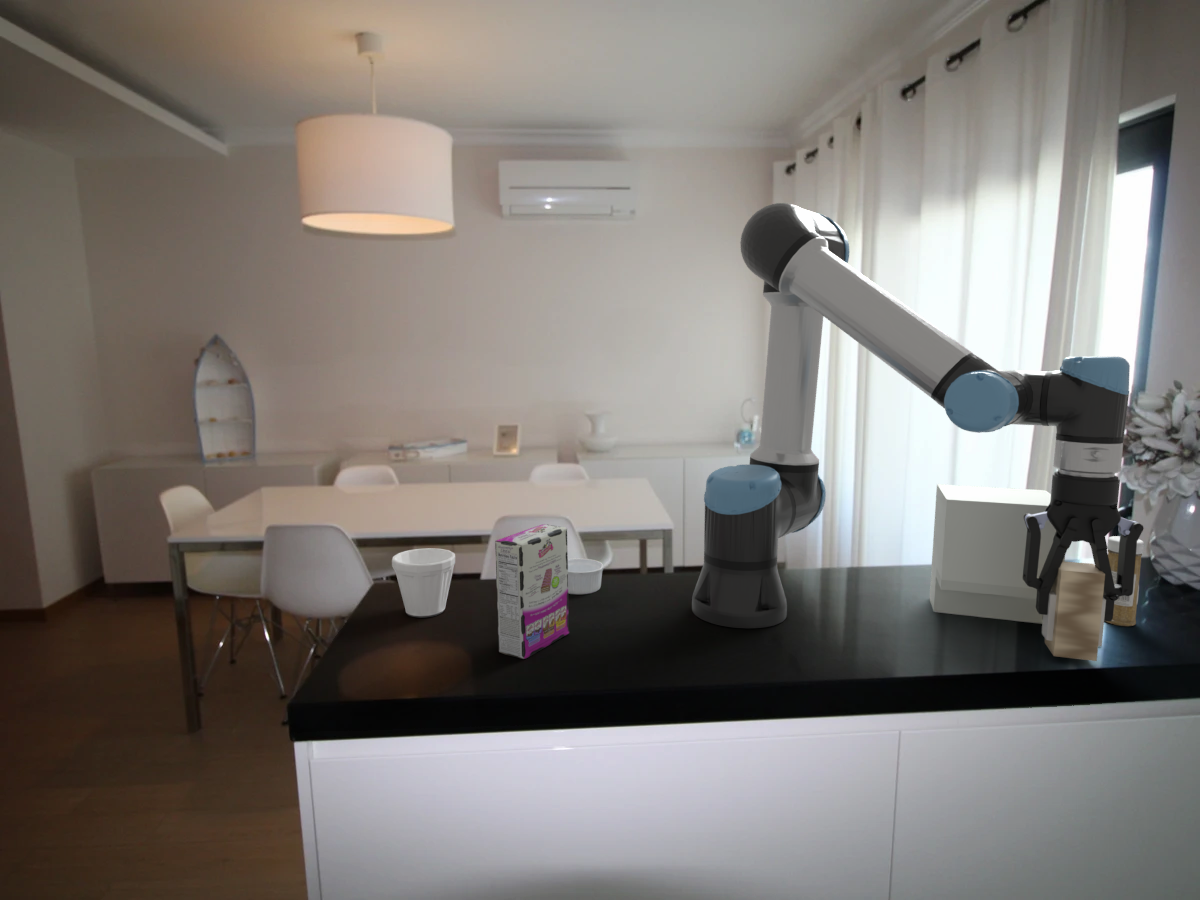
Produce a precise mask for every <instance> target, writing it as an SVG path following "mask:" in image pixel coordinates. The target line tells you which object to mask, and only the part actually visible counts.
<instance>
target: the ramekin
mask: <svg viewBox="0 0 1200 900" xmlns="http://www.w3.org/2000/svg"><path fill="white" fill-rule="evenodd" d="M604 567H605V566H604V564H603V563H602V562H601V561H598V560H595V559H591V558H580V557H579V558H578V557H576V558H568V595H569V594H570V595H589V594H593V593H596V592H597V591H599V590H600V589H601V586H602V576H603V571H604Z"/></svg>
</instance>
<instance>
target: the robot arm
mask: <svg viewBox="0 0 1200 900" xmlns="http://www.w3.org/2000/svg"><path fill="white" fill-rule="evenodd" d="M742 229H743V230H742V233H741V237H740V242H739V243H740V254H741V257H742V260H743V262H744V263H745V265H746V267H747V268H748V269H749V270H750V272H751V273H753V274H754V275H755V276H756V277H758V278H760V279H761V280H763V290H762V291H763V292H762V296H763V297H764V298H765V299H766V301H767V302H768V303H769V304H770V306H771V307H770V317H769V332H768V340H767V341H768V343H767V355H766V367H765V379H764V380H765V381H764V390H763V391H764V393H763V405H762V407H763V408H762V415H761V416H762V418H761V429H760V430H761V432H760V440H759V441H760V442H759V445H758V447H757V448H756V449H754V451H752V452H751V453H750V455H749V464H736V466H734V465H728V466H725V467H720V468H719V469H718V468H717V469H715V470H714V471H712V472H711V473H710V474H709V475H708V477H707V479H706V482H705V483H706V484H705V490H704V495H703V501H704V527H703V528H704V536H703V537H704V539H703V541H704V542H703V543H704V545H703V564H702V565H703V566H702V567H701V570H700V574H699V576H698V578H697V579H698V580H697V582H696V584H695V587H694V590H693V593H692V597H691V599H692V600H691V611H692V613H693V614H694V616H695V617H697V618H698V619H701V620H703V621H705V622H706V623H707V622H708V623H711V624H714V625H716V626H717V625H718V626H721V627H727V628H736V629H763V628H768V627H773V626H776V625H778V624H782V622H784V621H785V620H786V618H787V615H788V603H787V601H788V600H787V598H786V594H785V591H784V588H783V585H782V584H783V583H782V581H781V578H780V574H779V570H778V549H779V538H783V537H785V536H787V535H789V534H793V533H798V532H799V531H802V530H804V529H805V528H807V527H808V526H810V525H811V524H812V523H813V522H814V521H816V519H817V518H818V517H820V515H821V513H822V511H823V510H824V506H825V502H826V497H827V496H826V495H827V494H826V493H827V491H826V486H825V483H824V481H823V479H822V478H821V477H820V475H819V465H820V459H819V458H818V457H817V456H816V454H815V453H814V452H813V451H812V443H813V433H814V432H813V431H814V419H815V413H816V411H815V410H816V399H817V391H818V390H817V388H818V379H819V368H820V366H819V365H820V356H821V346H822V335H823V322H824V318H825V319H826V320H828V321H830V322H831V323H832V324H833V325H835V326H836V327H837V328H838V329H840V330H841V331H843V333H845V334H847V335H848V336H849V337H850V338H852V339H853V340H855V341H856V342H857V343H858V344H859V345H861V346H862V347H864V348H865V349H866V350H868V351H869V352H871V353H872V354H873V355H874V356H875V357H877V358H878V359H880V360H881V361H882V362H883V363H885V364H886V365H887V366H888V367H890V368H891V369H893V370H894V371H895V372H896V373H898V374H899V375H901V376H902V377H903V378H904V379H905V380H907V381H909V383H911V384H912V385H914V386H915V387H916V388H918V389H919V390H921V391H922V392H923V393H924V394H926V395H927V396H928V397H930V398H931V399H932V400H933V401H934V402H936V403H937V405H939V406H940V407H942V408H943V409H945V410H944V411H945V413H946V416H947V418H949V420H950V421H951V423H953V425H954V426H956V427H957V428H960V429H961V430H964V431H967V432H971V433H991V432H992V433H993V432H995V431H998V430H1001V429H1002V428H1004V427H1007V426H1010V425H1022V426H1042V427H1056V433H1055V444H1054V445H1055V446H1054V457H1053V465H1052V466H1053V468H1055V469H1056V470H1057V471H1055V472H1054V473H1052V478H1051V479H1052V481H1051V491H1050V494H1051V500H1050V504H1049V506H1048V507H1047V508H1046V510H1045V512H1041V513H1037V514H1030V513H1026V514H1025V515H1024V521H1025V524H1026V527H1027V537H1026V548H1025V558H1024V568H1023V580H1024V582H1025V583H1026V584H1027V586H1029V587H1033V588H1035V589H1037V597H1036V609H1037V612H1038V613H1039V614H1043V624H1042V626H1041V635H1042V636H1043V637H1044V640H1045V639H1046V640H1049V641H1053V630H1054V619H1055V608H1056V596H1057V595H1056V594H1055V593H1054V591H1053V590H1052V589H1051V588H1052V586H1053V583H1054V581H1055V578H1056V576H1057V573H1058V570H1059V568H1060V566H1061V564H1062V561H1063V559H1064V556H1065V557H1066V554H1067V551H1068V550H1069V548H1070V547H1071V545H1072V543H1073V542H1075V543H1076V542H1085V543H1088V544H1089V546H1090V549H1091V553H1092V558H1093V564H1094V565H1095V567H1096V568H1098V569H1099V570H1100V571H1102V572H1103V573H1104V574H1105V581H1104V591H1103V601H1102V612H1101V622H1100V632H1099V642H1098V647H1103V637H1104V635H1103V634H1104V625H1105V622H1106V621H1110V622H1111V620H1112V619H1113V611H1114V601H1116V600H1117V599H1118V597H1119V596H1124V595H1125V596H1130V595H1132V593H1133V584H1134V572H1135V560H1136V548H1137V540H1138V539H1139V540H1140V537H1141V535H1142V533H1143V532H1144V529H1145V527H1144V525H1143V524H1141V523H1140V522H1138V521H1136V520H1134V519H1127V518H1124V517H1123V516H1121V513H1120V512H1119V508H1118V505H1119V495H1120V485H1121V479H1120V478H1119V476H1117V475H1116V474H1118V473H1120V472H1121V471H1122V461H1123V448H1124V440H1125V439H1124V438H1125V431H1126V422H1127V412H1128V405H1129V399H1130V398H1129V396H1130V369H1131V368H1130V367H1131V366H1130V363H1129V362H1128V360H1127V359H1126V358H1124V357H1121V356H1066V357H1065V358H1063V360H1062V361H1061V366H1059V369H1058V370H1055V369H1054V370H1047V371H1046V370H1045V371H1044V370H1043V371H1041V370H1040V371H1039V370H1019V369H1017V370H1015V369H1013V370H1012V369H1008V370H1007V369H996V368H995V367H994V366H992V365H991V364H989V363H988V362H987V361H985V360H984V359H982V358H981V357H979V356H977V355H975V354H974V353H973V352H972V351H970V350H969V349H968V348H967V347H966V346H963V345H962V344H961V343H960V342H958V341H956V340H955V339H954V338H952V337H951V336H950V335H948V334H947V333H945V332H944V331H943V330H941V329H940V328H938V327H937V326H936V325H934V324H932V323H931V322H930V321H929V320H927V319H926V318H924V316H921V315H920V314H919V313H917V312H916V311H915V310H913V309H911V307H909V306H907V305H906V304H904V303H903V302H902V301H900V300H899V299H897V298H896V297H895V296H893V295H892V294H890V293H889V292H888V291H886V290H884V288H882V287H880V286H879V285H878V284H876V283H875V282H873V281H872V280H870V279H869V278H868V277H867V276H865V275H863V274H862V273H861V272H860V271H858V270H857V269H855V268H854V267H852V266H851V265H850V264H849V263H848V262H849V259H850V243H849V240H848V237H847V235H846V233H845V231H844V229H842V227H841V226H840V225H839V224H838V223H837V222H835V221H834V220H833V219H832V218H830V217H829V216H827V215H826V214H822V213H820V212H814V211H811V210H807V209H805V208H802V207H800V206H798V205H795V204H791V203H786V202H778V203H777V202H776V203H772V204H769V205H766V206H764V207H762V208H760V209H759V210H757V211H756V212H755V213H754V214H753V215H752V216H751V217H750V218H749V219H748V221H747V222H746V224H745V225H744V227H743V228H742ZM1047 520H1049V521H1050V523H1051V524H1052V525H1053V527H1054V528H1055V529H1056V533H1055V535H1054V538H1053V544H1052V546H1051V549H1050V551H1049V554H1048V556H1047V558H1046V561H1045V563H1044V566H1043V568H1042V571H1041V573H1040V576H1039V578H1037V571H1038V561H1039V551H1040V541H1041V531H1040V530H1041V529H1043V528H1044V527H1045V522H1046V521H1047ZM1117 526H1118V530H1117V531H1118V533H1119V534H1120V535H1119V536H1120V542H1119V555H1118V567H1117V580H1116V584H1115V585H1114V581H1113V577H1112V572H1111V567H1110V562H1109V558H1108V548H1107V544H1108V543H1107V540H1106V536H1107V535H1109V533H1111V531H1112V530H1114V528H1115V527H1117Z"/></svg>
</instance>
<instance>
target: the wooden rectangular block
mask: <svg viewBox="0 0 1200 900" xmlns="http://www.w3.org/2000/svg"><path fill="white" fill-rule="evenodd" d="M1104 581H1105V574H1104V573H1103V572H1102V571H1100V570H1099V569H1098V568H1096V567H1095V564H1094V563H1088V562H1087V563H1086V562H1075V561H1074V562H1073V561H1066V560H1065V561H1062V564H1061V566H1060V568H1059V570H1058V573H1057V576H1056V578H1055V581H1054V583H1053V586H1052V588H1051V589H1052V590H1053V591H1054V593H1055V594H1056V595H1057V596H1056V608H1055V619H1054V630H1053V641H1049V640H1046V639H1045V638H1044V644H1045V645H1046V647H1047V648H1048V650H1049V651H1050V653H1051V655H1052V656H1053V657H1060V658H1067V659H1075V660H1084V661H1092V662H1097V660H1098V654H1099V653H1098V652H1099V651H1098V650H1099V646H1098V642H1099V632H1100V622H1101V612H1102V601H1103V591H1104ZM1042 620H1043V614H1042Z"/></svg>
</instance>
